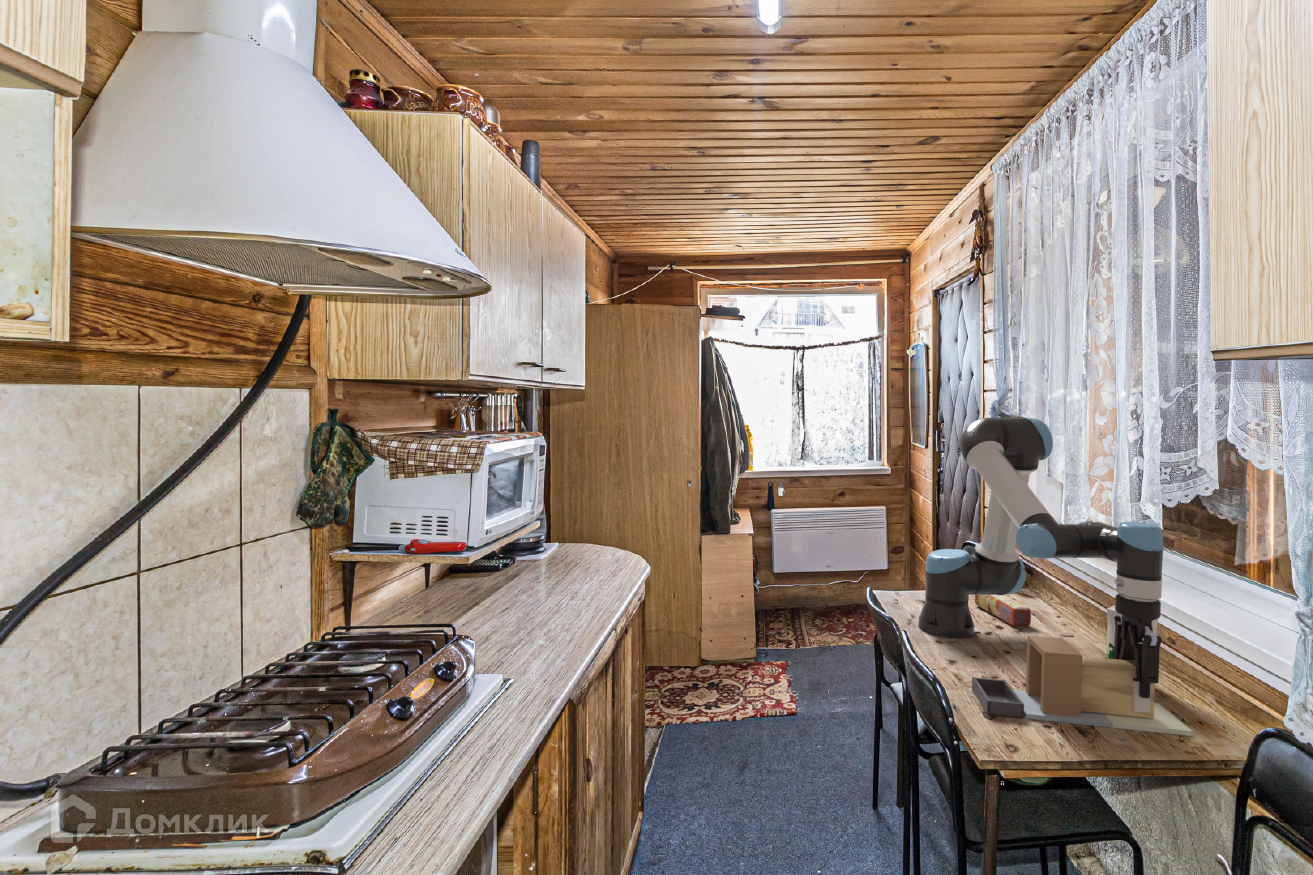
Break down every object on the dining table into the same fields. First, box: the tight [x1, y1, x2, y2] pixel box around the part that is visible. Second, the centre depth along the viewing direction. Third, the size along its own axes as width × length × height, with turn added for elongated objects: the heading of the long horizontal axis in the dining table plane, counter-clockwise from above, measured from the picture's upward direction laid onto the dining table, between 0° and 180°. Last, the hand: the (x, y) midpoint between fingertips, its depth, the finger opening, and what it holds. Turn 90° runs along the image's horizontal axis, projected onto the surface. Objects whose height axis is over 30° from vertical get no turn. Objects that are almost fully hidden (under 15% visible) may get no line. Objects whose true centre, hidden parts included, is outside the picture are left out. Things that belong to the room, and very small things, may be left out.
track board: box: [1012, 634, 1194, 737], centre depth 131 cm, size 12×30×14 cm, turn 77°
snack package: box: [974, 595, 1032, 628], centre depth 195 cm, size 21×7×7 cm, turn 2°
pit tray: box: [971, 676, 1025, 719], centre depth 136 cm, size 12×7×3 cm, turn 167°
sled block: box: [1081, 655, 1156, 718], centre depth 131 cm, size 5×18×10 cm, turn 77°
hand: (1133, 704), depth 130 cm, fingers closed on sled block, 5 cm apart
